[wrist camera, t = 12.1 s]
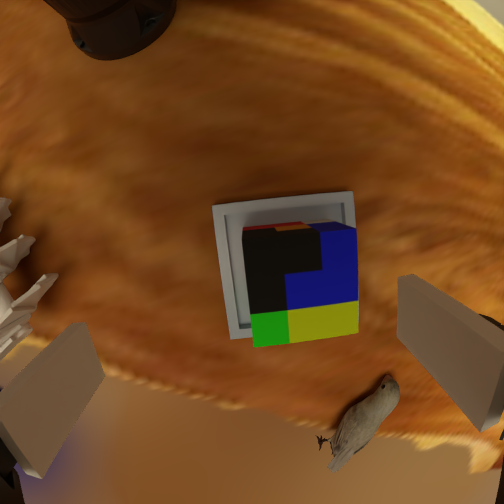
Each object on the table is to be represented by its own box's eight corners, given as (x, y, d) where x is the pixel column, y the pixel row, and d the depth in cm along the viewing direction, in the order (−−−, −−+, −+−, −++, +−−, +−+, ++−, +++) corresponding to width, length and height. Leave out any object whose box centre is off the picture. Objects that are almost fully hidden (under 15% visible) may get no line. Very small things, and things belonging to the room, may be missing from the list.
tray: (213, 204, 37) (211, 205, 35) (346, 191, 37) (352, 191, 35) (231, 331, 40) (230, 339, 38) (352, 314, 40) (358, 321, 38)
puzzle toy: (327, 218, 37) (356, 228, 27) (332, 299, 38) (358, 332, 29) (242, 227, 37) (241, 240, 27) (251, 309, 38) (253, 347, 29)
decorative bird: (399, 378, 42) (419, 405, 35) (333, 446, 45) (343, 476, 37) (377, 365, 42) (397, 393, 34) (310, 436, 44) (318, 469, 37)
